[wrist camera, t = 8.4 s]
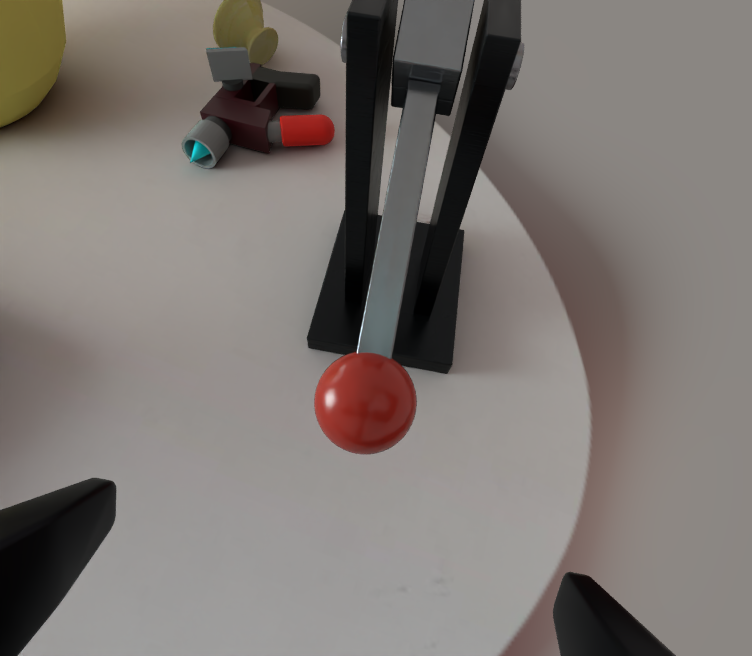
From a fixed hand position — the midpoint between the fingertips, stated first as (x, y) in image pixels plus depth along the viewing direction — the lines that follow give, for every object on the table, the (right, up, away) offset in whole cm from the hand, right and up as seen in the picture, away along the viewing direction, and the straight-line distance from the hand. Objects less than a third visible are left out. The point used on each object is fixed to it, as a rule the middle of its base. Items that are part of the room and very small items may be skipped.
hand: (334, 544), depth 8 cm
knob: (-10, +28, +31) cm, 43 cm away
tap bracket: (+2, +7, +18) cm, 20 cm away
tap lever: (+2, +7, +7) cm, 11 cm away
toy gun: (-7, +19, +25) cm, 32 cm away
